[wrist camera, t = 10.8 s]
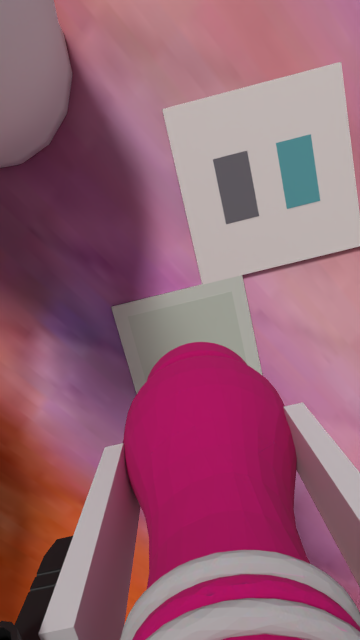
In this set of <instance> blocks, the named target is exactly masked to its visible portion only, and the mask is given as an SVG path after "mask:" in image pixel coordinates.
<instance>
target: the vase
mask: <svg viewBox="0 0 360 640" xmlns="http://www.w3.org/2000/svg"><path fill="white" fill-rule="evenodd" d="M72 75H73V74H72V69H71V65H70V60H69V55H68V51H67V46H66V41H65V37H64V33H63V31H62V29H61V27H60V25H59V23H58V18H57V13H56V9H55V4H54V0H0V168H3V167H8V166H14V165H19V164H23V163H24V162H25V161H27V160H28V159H30V158H31V157H32V156H34V155H35V154H36V153H38V152H39V151H41V150H42V149H43V148H45V147H46V146H48V145H49V144H50V142H51V141H52V139H53V137H54V135H55V134H56V132H57V130H58V128H59V127H60V125H61V123H62V121H63V120H64V118H65V116H66V114H67V111H68V104H69V97H70V90H71V83H72Z"/></svg>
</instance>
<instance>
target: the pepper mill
mask: <svg viewBox="0 0 360 640" xmlns="http://www.w3.org/2000/svg"><path fill="white" fill-rule="evenodd" d="M284 407H285V406H284V404H283V401H282V399H281V398H280V396H279V394H278V393H277V391H276V389H275V388H274V387H273V386H272V385H271V384H270V382H269V381H268V380H267V379H266V378H265V377H263V376H262V375H261V374H260V373H259V372H257V371H256V370H254V369H253V368H251V367H250V366H248V365H247V364H246V362H245V361H244V360H243V359H242V358H241V357H240V356H239V355H238V354H236V353H235V352H234V351H232V350H230V349H229V348H226V347H224V346H222V345H219V344H215V343H210V342H193V343H187V344H184V345H181V346H179V347H177V348H175V349H173V350H171V351H169V352H168V353H166V354H165V355H164V356H163V357H161V358H160V359H159V361H158V362H157V363H156V364H155V365H154V367H153V368H152V370H151V372H150V374H149V375H148V378H147V382H146V383H145V384H144V385H143V386H142V387H141V388H140V390H139V392H138V393H137V395H136V396H135V398H134V400H133V401H132V404H131V406H130V409H129V411H128V415H127V420H126V424H125V432H124V440H123V444H124V447H125V460H126V468H127V474H128V477H129V481H130V484H131V487H132V489H133V491H134V494H135V496H136V498H137V500H138V502H139V504H140V506H141V508H142V510H143V512H144V515H145V517H146V523H147V528H148V534H149V579H148V586H147V590H146V591H145V592H144V593H143V594H142V595H141V597H140V598H139V599H138V600H137V602H136V603H135V605H134V606H133V608H132V610H131V611H130V613H129V615H128V617H127V620H126V622H125V625H124V627H123V631H122V634H121V638H120V640H360V612H359V611H358V609H357V607H356V605H355V603H354V602H353V600H352V599H351V597H350V596H349V594H348V593H347V592H346V591H345V589H344V588H343V587H342V586H340V585H339V584H338V583H337V582H336V581H335V580H334V579H333V578H332V577H330V576H329V575H328V574H326V573H325V572H323V571H321V570H320V569H318V568H317V567H315V566H313V565H311V564H310V562H309V560H308V558H307V557H306V554H305V551H304V548H303V546H302V543H301V540H300V537H299V535H298V532H297V529H296V524H295V517H294V510H293V506H294V489H295V478H296V466H297V457H296V450H295V445H294V442H293V438H292V434H291V430H290V427H289V424H288V421H287V419H286V416H285V412H284Z"/></svg>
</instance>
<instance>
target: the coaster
mask: <svg viewBox="0 0 360 640" xmlns="http://www.w3.org/2000/svg"><path fill="white" fill-rule="evenodd" d="M111 308H112V312H113V315H114V319H115V322H116V325H117V329H118V332H119V336H120V339H121V343H122V346H123V349H124V353H125V356H126V360H127V363H128V367H129V370H130V373H131V377H132V380H133V384H134V387H135V390H136V394H137V393H138V392H139V390H140V388H141V387H142V386H143V385H144V384H145V383H146V382H147V378H148V375H149V374H150V372H151V370H152V368H153V367H154V365H155V364H156V363H157V362H158V361H159V359H160V358H161V357H163V356H164V355H165V354H166V353H168V352H169V351H171V350H173V349H175V348H177V347H179V346H181V345H184V344H187V343H193V342H210V343H215V344H219V345H222V346H224V347H226V348H229V349H230V350H232V351H234V352H235V353H236V354H238V355H239V356H240V357H241V358H242V359H243V360H244V361H245V362H246V364H247V365H248V366H250V367H251V368H253V369H254V370H256V371H257V372H259V373H260V374H261V375H262V371H261V366H260V361H259V356H258V351H257V346H256V341H255V336H254V331H253V327H252V322H251V317H250V312H249V307H248V302H247V297H246V292H245V287H244V282H243V277H242V275H240V276H236V277H232V278H228V279H224V280H220V281H216V282H212V283H207V284H203V285H198V286H193V287H189V288H185V289H181V290H177V291H173V292H169V293H165V294H161V295H157V296H153V297H148V298H144V299H140V300H136V301H132V302H128V303H124V304H120V305H116V306H112V307H111Z"/></svg>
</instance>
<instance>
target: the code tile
mask: <svg viewBox="0 0 360 640" xmlns="http://www.w3.org/2000/svg"><path fill="white" fill-rule="evenodd" d="M162 111H163V116H164V120H165V124H166V129H167V133H168V137H169V142H170V146H171V150H172V155H173V159H174V164H175V168H176V172H177V177H178V181H179V185H180V190H181V194H182V199H183V203H184V207H185V212H186V216H187V220H188V225H189V229H190V233H191V238H192V242H193V247H194V251H195V255H196V260H197V264H198V268H199V273H200V277H201V282H202V285H203V284H207V283H212V282H216V281H220V280H224V279H228V278H232V277H236V276H240V275H244V274H248V273H253V272H257V271H261V270H265V269H269V268H273V267H277V266H281V265H285V264H289V263H294V262H298V261H302V260H306V259H310V258H314V257H318V256H322V255H326V254H330V253H335V252H339V251H343V250H347V249H351V248H355V247H359V246H360V214H359V205H358V197H357V189H356V181H355V172H354V164H353V156H352V148H351V139H350V131H349V123H348V115H347V106H346V98H345V90H344V82H343V73H342V65H341V62H339V63H335V64H331V65H327V66H324V67H320V68H316V69H312V70H308V71H305V72H301V73H297V74H293V75H290V76H286V77H282V78H278V79H274V80H271V81H267V82H263V83H259V84H256V85H252V86H248V87H244V88H240V89H237V90H233V91H229V92H225V93H222V94H218V95H214V96H210V97H206V98H203V99H199V100H195V101H191V102H188V103H184V104H180V105H176V106H172V107H169V108H165V109H162Z"/></svg>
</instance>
